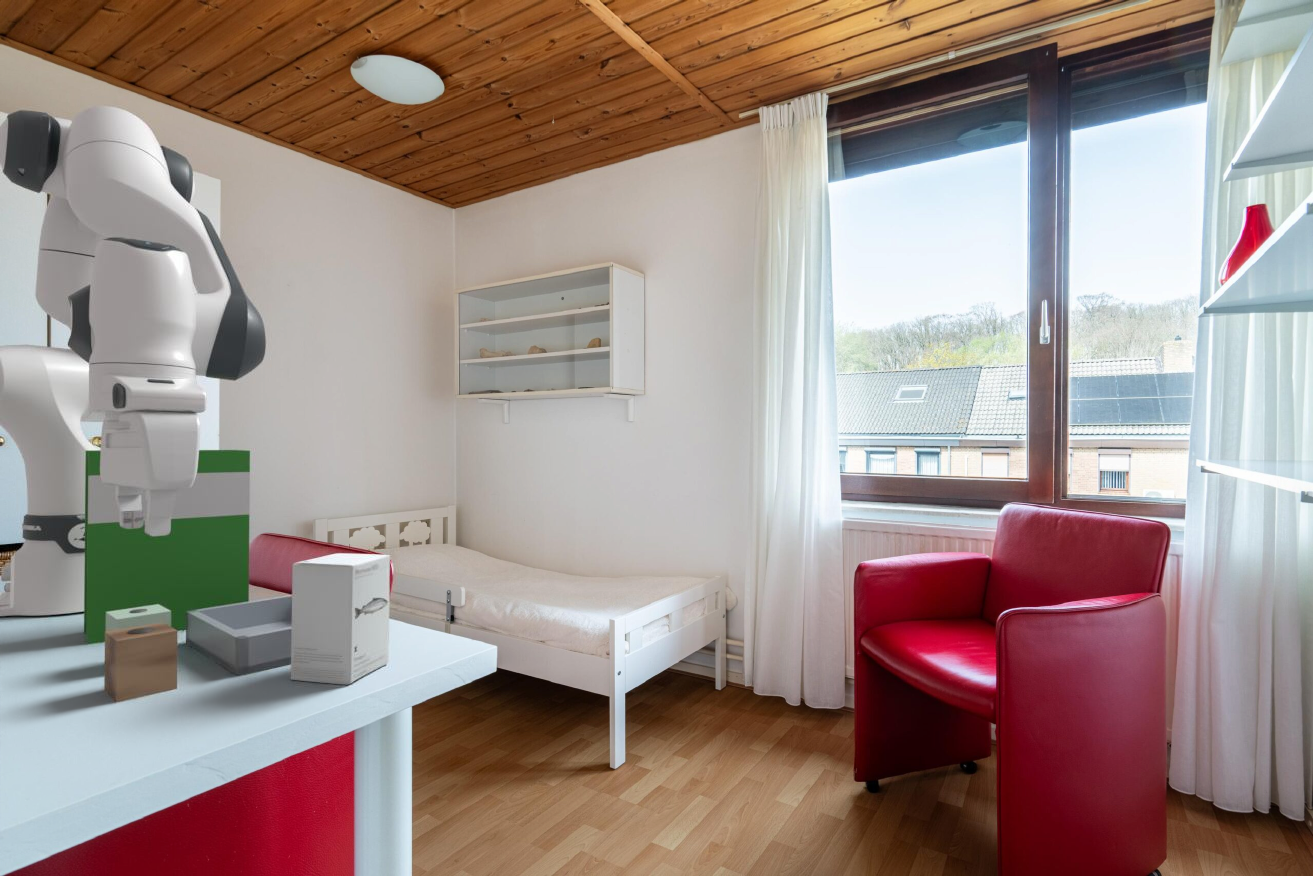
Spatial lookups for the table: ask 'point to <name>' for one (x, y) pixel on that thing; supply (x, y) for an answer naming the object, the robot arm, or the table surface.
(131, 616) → the sage block
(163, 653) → the walnut block
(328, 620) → the supplement box
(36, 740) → the table surface
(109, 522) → the hardback book
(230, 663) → the tray
